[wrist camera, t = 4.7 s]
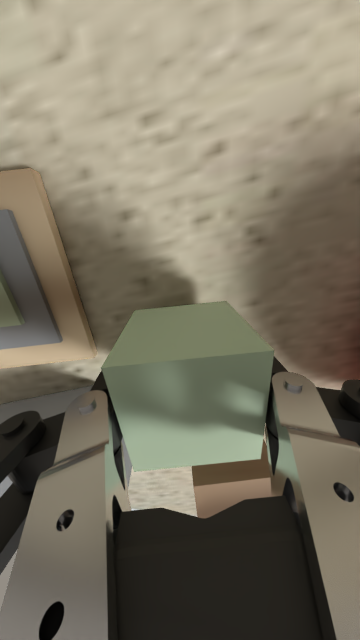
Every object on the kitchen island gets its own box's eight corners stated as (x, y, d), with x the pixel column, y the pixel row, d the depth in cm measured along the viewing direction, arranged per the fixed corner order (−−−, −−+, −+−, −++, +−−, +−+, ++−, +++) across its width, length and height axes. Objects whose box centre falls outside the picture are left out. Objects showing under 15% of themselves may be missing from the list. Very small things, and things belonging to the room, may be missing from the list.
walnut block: (186, 412, 15) (193, 486, 10) (246, 404, 15) (281, 476, 10) (191, 451, 17) (199, 529, 12) (245, 445, 17) (273, 520, 12)
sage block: (134, 310, 10) (100, 367, 5) (226, 301, 10) (274, 350, 5) (149, 382, 12) (134, 471, 7) (225, 374, 12) (260, 458, 7)
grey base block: (2, 401, 14) (-59, 458, 10) (102, 380, 14) (76, 431, 10) (52, 464, 17) (18, 526, 13) (135, 448, 17) (124, 507, 13)
